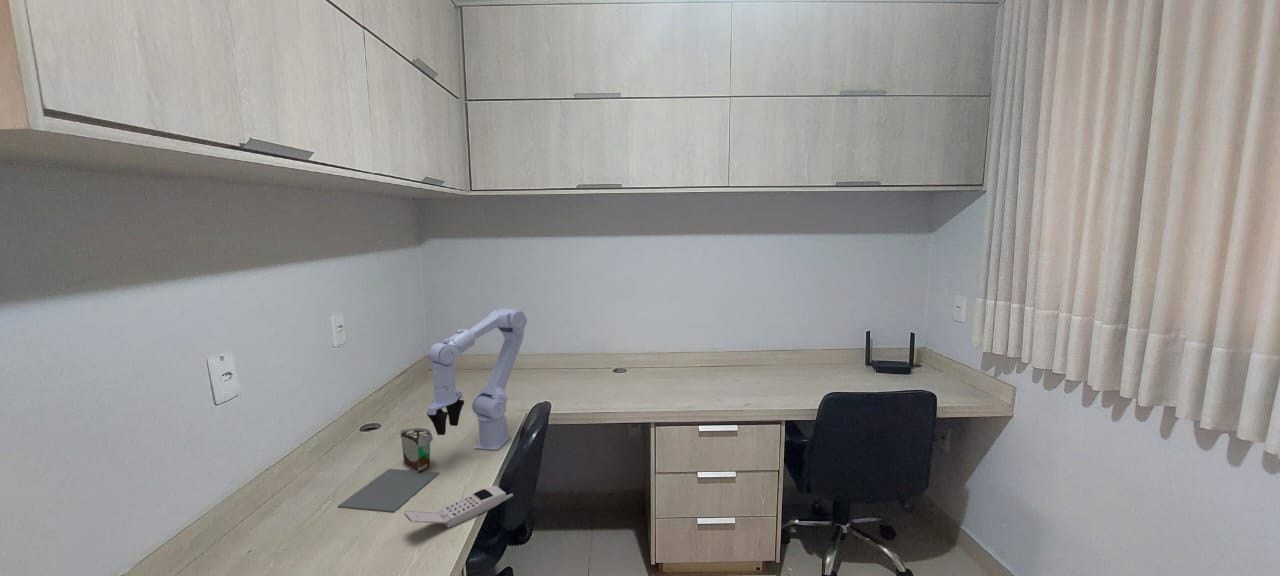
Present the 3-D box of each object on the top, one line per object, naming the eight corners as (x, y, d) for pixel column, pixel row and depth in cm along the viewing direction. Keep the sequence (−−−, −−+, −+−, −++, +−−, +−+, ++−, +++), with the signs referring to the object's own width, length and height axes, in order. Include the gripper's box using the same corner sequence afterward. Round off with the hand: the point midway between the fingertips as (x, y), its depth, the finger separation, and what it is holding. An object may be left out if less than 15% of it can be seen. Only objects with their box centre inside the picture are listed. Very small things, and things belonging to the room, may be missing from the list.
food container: (441, 467, 144) (440, 433, 143) (420, 474, 139) (419, 440, 138) (422, 456, 152) (420, 424, 151) (401, 463, 147) (400, 430, 147)
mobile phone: (402, 511, 113) (501, 469, 130) (404, 535, 113) (502, 490, 131) (412, 522, 108) (513, 477, 126) (415, 547, 109) (514, 499, 127)
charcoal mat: (389, 470, 144) (389, 468, 144) (439, 473, 141) (439, 472, 141) (338, 507, 125) (337, 505, 125) (394, 512, 122) (394, 511, 122)
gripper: (446, 376, 151) (449, 419, 153) (416, 392, 137) (420, 439, 139) (467, 377, 150) (470, 420, 152) (439, 393, 136) (442, 440, 137)
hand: (447, 429), depth 145 cm, fingers open, 6 cm apart
